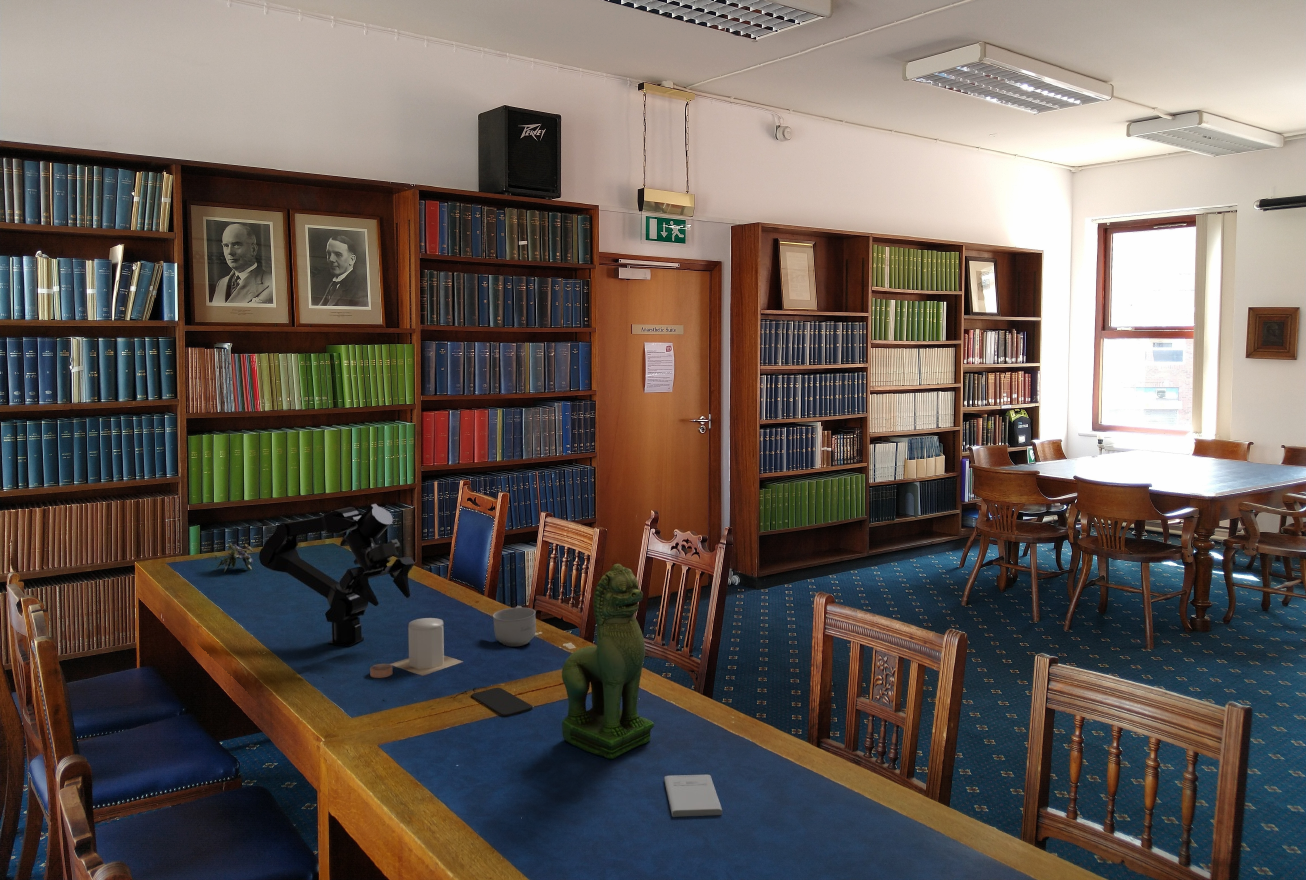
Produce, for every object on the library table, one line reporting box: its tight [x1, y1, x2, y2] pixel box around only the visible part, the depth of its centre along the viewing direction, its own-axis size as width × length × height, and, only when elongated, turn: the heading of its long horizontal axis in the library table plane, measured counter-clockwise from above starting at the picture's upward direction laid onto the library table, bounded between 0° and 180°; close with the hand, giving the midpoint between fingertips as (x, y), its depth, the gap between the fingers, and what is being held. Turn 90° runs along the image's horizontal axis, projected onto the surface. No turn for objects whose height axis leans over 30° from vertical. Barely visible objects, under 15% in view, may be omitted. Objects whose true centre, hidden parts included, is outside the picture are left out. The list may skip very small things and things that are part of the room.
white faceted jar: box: [407, 617, 445, 669], centre depth 216 cm, size 8×8×10 cm
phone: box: [470, 687, 534, 718], centre depth 197 cm, size 7×1×15 cm
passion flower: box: [214, 542, 254, 573], centre depth 307 cm, size 11×11×12 cm
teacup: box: [492, 605, 537, 647], centre depth 237 cm, size 14×11×8 cm
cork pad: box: [389, 655, 464, 677], centre depth 216 cm, size 12×12×2 cm
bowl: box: [369, 663, 393, 679], centre depth 209 cm, size 5×5×3 cm
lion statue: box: [561, 563, 655, 760], centre depth 177 cm, size 14×17×35 cm
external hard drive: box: [664, 774, 723, 818], centre depth 156 cm, size 2×8×12 cm
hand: (393, 601), depth 224 cm, fingers open, 9 cm apart
